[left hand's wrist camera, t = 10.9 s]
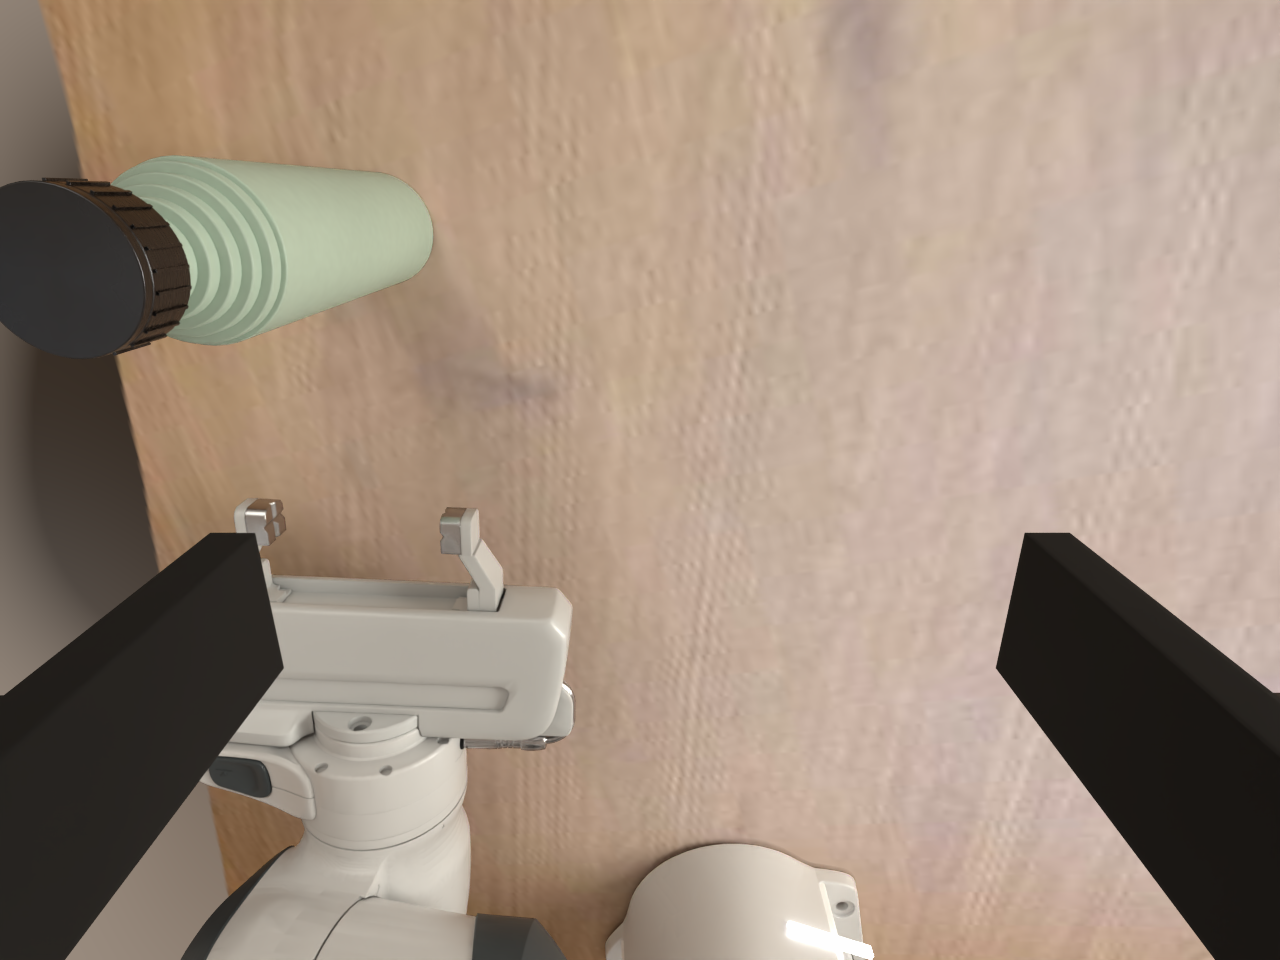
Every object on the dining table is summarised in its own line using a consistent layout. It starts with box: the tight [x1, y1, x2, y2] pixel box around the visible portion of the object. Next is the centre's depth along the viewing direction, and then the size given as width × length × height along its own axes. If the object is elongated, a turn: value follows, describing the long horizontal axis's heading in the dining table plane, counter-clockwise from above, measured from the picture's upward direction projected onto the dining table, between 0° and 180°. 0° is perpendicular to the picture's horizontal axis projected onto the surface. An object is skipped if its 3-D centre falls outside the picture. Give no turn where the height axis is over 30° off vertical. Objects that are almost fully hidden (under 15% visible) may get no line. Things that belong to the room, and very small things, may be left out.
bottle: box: [111, 155, 433, 345], centre depth 26 cm, size 5×5×21 cm
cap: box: [0, 178, 192, 359], centre depth 17 cm, size 4×4×2 cm
